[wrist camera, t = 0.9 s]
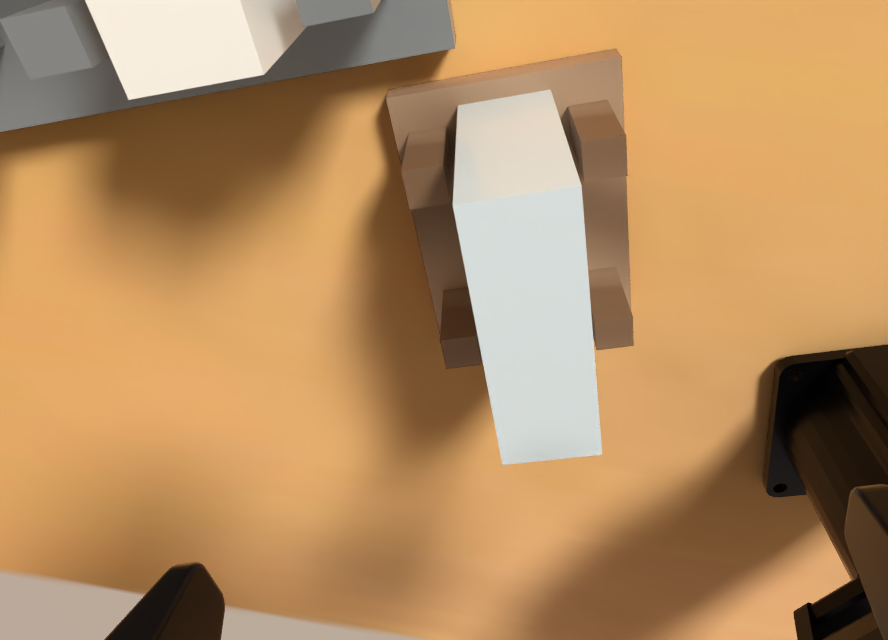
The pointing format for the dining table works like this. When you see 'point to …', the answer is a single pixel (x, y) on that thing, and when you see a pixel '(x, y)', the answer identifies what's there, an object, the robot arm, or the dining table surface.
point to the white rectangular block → (193, 40)
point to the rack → (100, 90)
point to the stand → (596, 160)
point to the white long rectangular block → (528, 276)
